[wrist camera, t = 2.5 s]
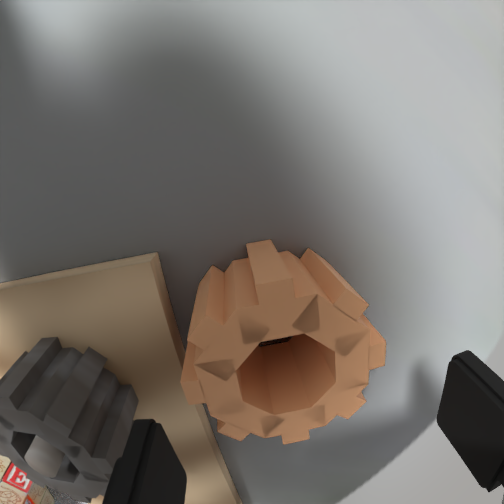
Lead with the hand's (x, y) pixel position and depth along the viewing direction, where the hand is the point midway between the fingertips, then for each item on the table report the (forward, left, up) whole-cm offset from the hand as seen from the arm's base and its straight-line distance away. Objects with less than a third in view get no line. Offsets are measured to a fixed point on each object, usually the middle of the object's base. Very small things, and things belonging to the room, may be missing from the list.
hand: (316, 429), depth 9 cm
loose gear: (-1, 0, -7) cm, 7 cm away
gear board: (+6, -11, -7) cm, 15 cm away
